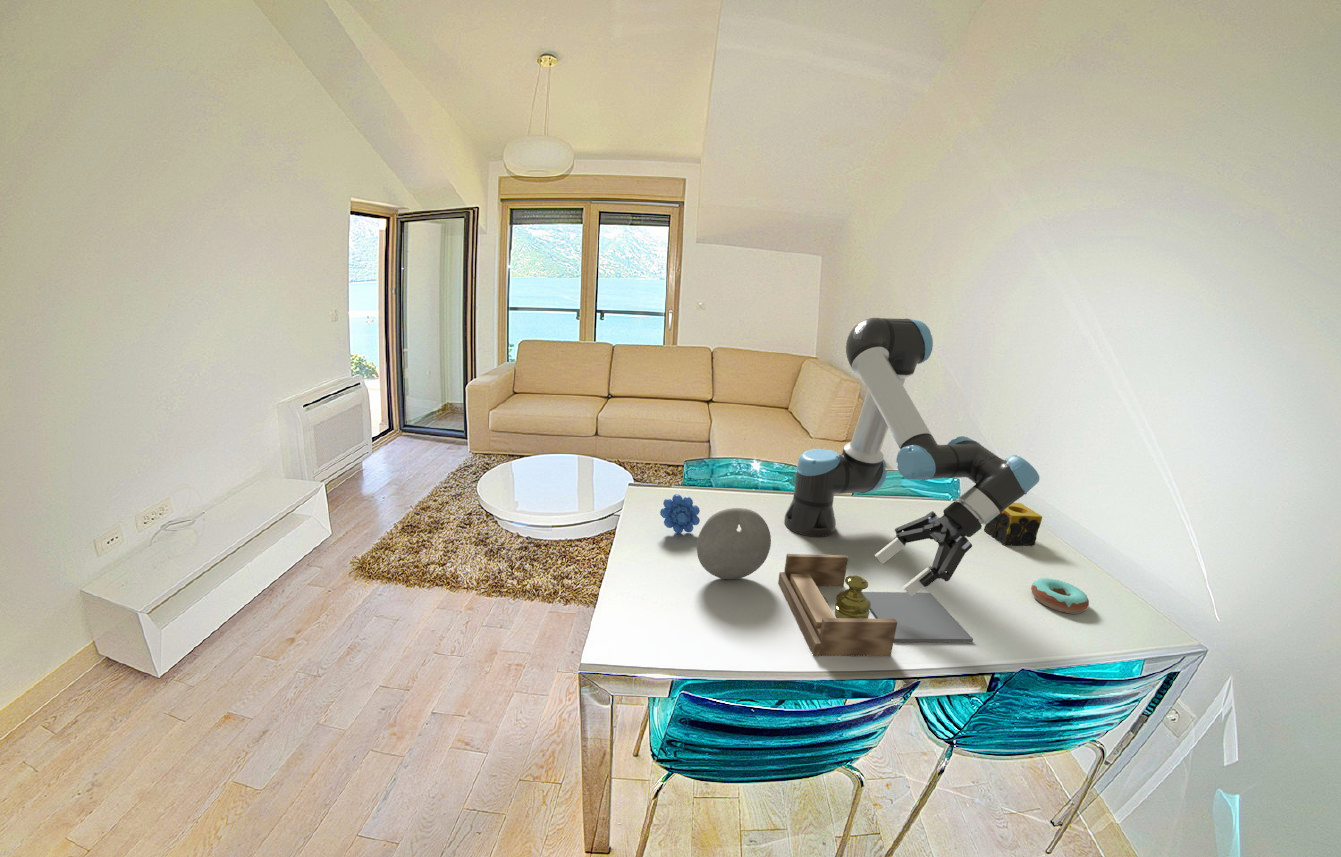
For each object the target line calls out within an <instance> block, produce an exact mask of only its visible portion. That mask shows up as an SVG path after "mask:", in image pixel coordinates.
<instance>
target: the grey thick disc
mask: <svg viewBox="0 0 1341 857" xmlns="http://www.w3.org/2000/svg"><path fill="white" fill-rule="evenodd" d="M739 527H740V530H738V528H739ZM770 531H771V530H770V528H769V526H768V524H767V522H766V520H765V519H764V518H763V517H762V515H760V514H759V513H758V512H756V511H754V510H752V509H747V508H743V507H731V508H726V509H722V510H720V511H717V512H716V513H714V514H712V515H711V516H710V517H709V518H708V519H707V520H706V521H705V523H704V524H703V526H702V528H701V529H700V531H699V535H698V537H697V541H696V553H697V554H696V555H697V558H698V561H699V563H700V565H701V567H702V568H703V569H704V570H705V571H706V572H707V573H709V575H712V576H714V577H716V578H720V579H723V580H738V579H742V578H745V577H748V576H749V575H751V574H753V573H755V572H756V571H757V570H759V569H760V568H761V566H763V564H764V563H765V562H766V560H767V558H768V556H769V553H770V550H771V544H772V540H771V539H772V537H771V532H770Z"/></svg>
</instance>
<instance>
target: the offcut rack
mask: <svg viewBox="0 0 1341 857" xmlns="http://www.w3.org/2000/svg"><path fill="white" fill-rule="evenodd" d="M848 562H849V556H848V555H847V554H814V553H813V554H812V553H811V554H810V553H809V554H806V553H805V554H803V553H799V554H798V553H786V558H785V566H784V572H783V571H779V574H778V581H777V583H778V586H779V588H780V591H781V592H782V594H783V596H784V598H785V601H786V603H787V605H788V606H789V609H790V611H791V613H792V615H793V617H794V619H795V621H796V623H797V624H798V628H799V630H800V632H801V634H802V635H803V637H804V640H805V642H806V644H807V646H808V648H809V650H810V652H812V653H811V655H812V654H813V655H812V657H891V655H892V652H893V648H894V647H893V646H894V643H895V642H894V637H895V632H896V627H897V621H896V620H895V619H876V618H868V619H864V618H837V617H836V615H835V614H834V613H833V611H832V609H831V608H830V606H829V604H828V603H827V601H826V600H825V598H824V596H823V594H822V593H821V591H820V589H819V588H818V587H836V588H837V587H840V588H841V587H845V586H844V585H845V578H846V573H847V568H848V567H847V566H848Z"/></svg>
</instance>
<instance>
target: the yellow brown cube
mask: <svg viewBox="0 0 1341 857" xmlns="http://www.w3.org/2000/svg"><path fill="white" fill-rule="evenodd" d="M1042 520H1043V515H1041V514H1039V513H1037V512H1036V511H1034V510H1033V509H1031V508H1029V507H1028V506H1026V505H1024V503H1021V502H1014V503H1012V504H1011V505H1010V506H1009V507H1007V508H1006V509H1005V510H1003V511H1002V512H1001V513H1000V514H999V515H997V516H996V517H995V518H994V519H992V520H991V521H990V522H989V523H987V524H986V525H984V529H983V531H984V532H985V533H987V534H988V535H989V536H991V537H992V539H994V540H996V541H997V542H998V543H1000V544H1001V545H1003V546H1009V547H1010V546H1011V547H1013V546H1014V547H1034V546H1036V545H1035V544H1036V541H1037V535H1038V532H1039V529H1040V527H1041V523H1042Z"/></svg>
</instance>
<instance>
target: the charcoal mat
mask: <svg viewBox="0 0 1341 857" xmlns="http://www.w3.org/2000/svg"><path fill="white" fill-rule="evenodd" d="M862 593H863V594H864V595H865V596H866V597H867V598H868V599H869V600H870V602H871V607H870V609H869V612H870V613H871V614H872V616H873V617H874V619H895V620H896V621H897V627H896V632H895V637H894V642H893V643H898V642H899V643H973V642H974V638H973V637H972V636H971V635H970V634H969V633H968V631H966V630H965V628H964V627H963V626H962V625H961V624H960V623H959V622H958V621H957V619H955V617H954V616H953V615H951V613H950V612H949V611H948V610H947V609H946V608H945V607H944V606H943V605H942V603H941V602H940V601H938V599H937V598H936V597H935V596H934V595H933V594H932V593H931V592H919V591H918V592H917V593H916V594H915V595H913V596H912V597H911V596H910V595H909V594H908V593H907V591H905V592H903V591H900V592H899V591H895V592H894V591H862Z"/></svg>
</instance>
